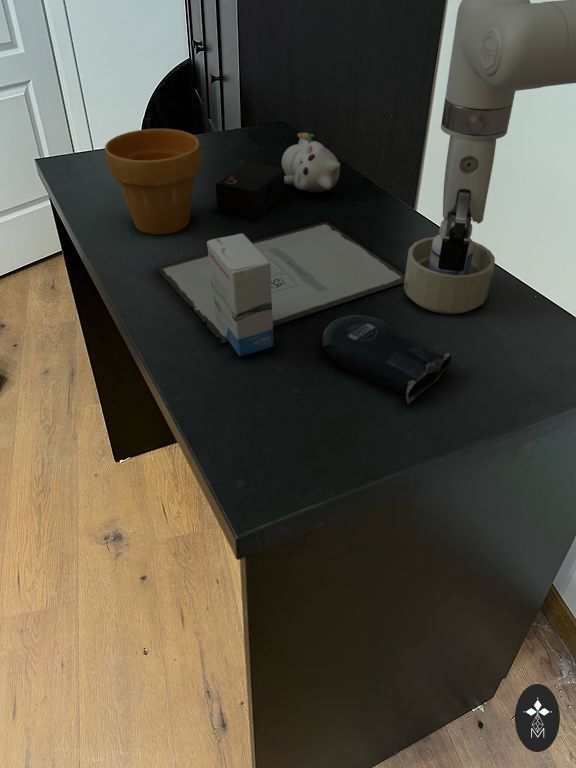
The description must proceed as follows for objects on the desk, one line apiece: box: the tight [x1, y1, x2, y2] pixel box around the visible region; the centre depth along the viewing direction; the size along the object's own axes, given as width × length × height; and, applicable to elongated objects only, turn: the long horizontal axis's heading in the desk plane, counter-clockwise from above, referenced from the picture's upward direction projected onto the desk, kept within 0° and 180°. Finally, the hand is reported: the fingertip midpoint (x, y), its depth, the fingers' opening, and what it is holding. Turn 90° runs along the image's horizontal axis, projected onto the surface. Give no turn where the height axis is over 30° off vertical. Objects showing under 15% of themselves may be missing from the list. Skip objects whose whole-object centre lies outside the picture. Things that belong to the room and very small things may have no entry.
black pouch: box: [321, 314, 453, 405], centre depth 77 cm, size 9×6×15 cm
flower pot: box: [104, 128, 202, 236], centre depth 103 cm, size 14×14×13 cm
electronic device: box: [215, 161, 285, 220], centre depth 111 cm, size 7×11×5 cm
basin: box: [403, 236, 496, 315], centre depth 88 cm, size 11×11×6 cm
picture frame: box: [155, 221, 405, 344], centre depth 94 cm, size 22×1×30 cm
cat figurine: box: [281, 132, 341, 194], centre depth 116 cm, size 10×8×15 cm
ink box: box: [206, 232, 275, 357], centre depth 78 cm, size 9×5×12 cm, turn 25°
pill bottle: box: [428, 219, 474, 275], centre depth 86 cm, size 5×5×10 cm
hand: (452, 251), depth 86 cm, fingers open, 9 cm apart
